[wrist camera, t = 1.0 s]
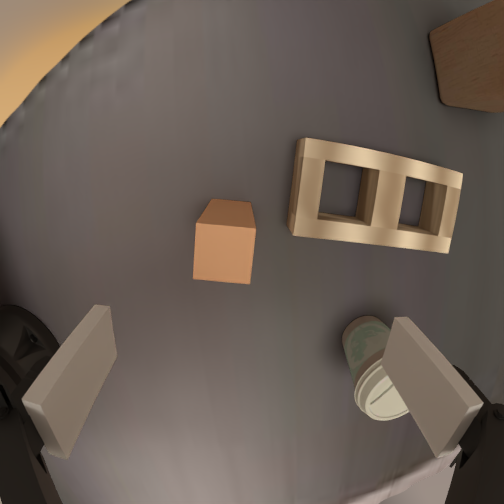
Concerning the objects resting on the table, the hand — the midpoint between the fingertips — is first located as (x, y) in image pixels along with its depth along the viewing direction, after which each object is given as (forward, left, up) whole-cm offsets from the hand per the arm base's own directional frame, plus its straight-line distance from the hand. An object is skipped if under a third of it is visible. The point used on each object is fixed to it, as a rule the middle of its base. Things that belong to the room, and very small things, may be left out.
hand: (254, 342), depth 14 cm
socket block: (+13, +6, -21) cm, 25 cm away
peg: (-2, +1, -21) cm, 21 cm away
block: (+25, +24, -21) cm, 40 cm away
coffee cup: (+16, -12, -21) cm, 29 cm away
